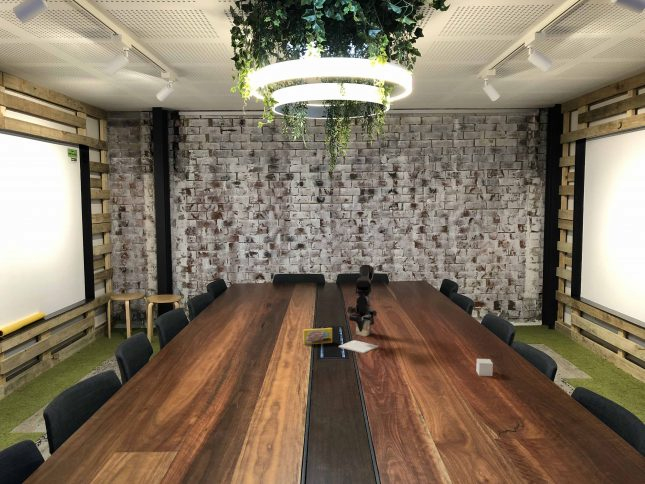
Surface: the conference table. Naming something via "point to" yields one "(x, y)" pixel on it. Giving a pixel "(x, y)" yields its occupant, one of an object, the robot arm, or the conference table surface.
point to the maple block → (365, 328)
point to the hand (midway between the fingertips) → (362, 330)
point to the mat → (358, 346)
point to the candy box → (317, 336)
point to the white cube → (484, 367)
